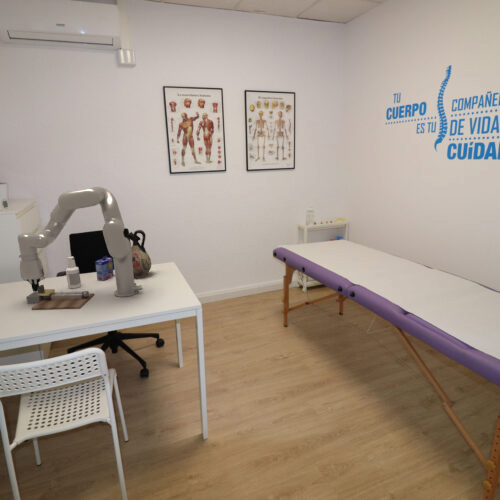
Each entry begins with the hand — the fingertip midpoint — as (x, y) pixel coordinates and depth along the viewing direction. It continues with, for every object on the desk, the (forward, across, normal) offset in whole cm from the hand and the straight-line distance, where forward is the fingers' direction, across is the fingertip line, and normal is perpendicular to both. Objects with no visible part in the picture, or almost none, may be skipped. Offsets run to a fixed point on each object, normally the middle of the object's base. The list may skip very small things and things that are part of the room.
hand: (36, 290), depth 189 cm
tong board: (+6, +16, -3) cm, 17 cm away
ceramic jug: (+6, +44, +37) cm, 58 cm away
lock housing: (+6, 0, 0) cm, 6 cm away
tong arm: (+5, +16, 0) cm, 16 cm away
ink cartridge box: (+6, +23, +34) cm, 42 cm away
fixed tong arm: (+5, +14, +2) cm, 15 cm away
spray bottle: (+6, +10, +20) cm, 23 cm away
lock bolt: (+2, +5, 0) cm, 5 cm away
